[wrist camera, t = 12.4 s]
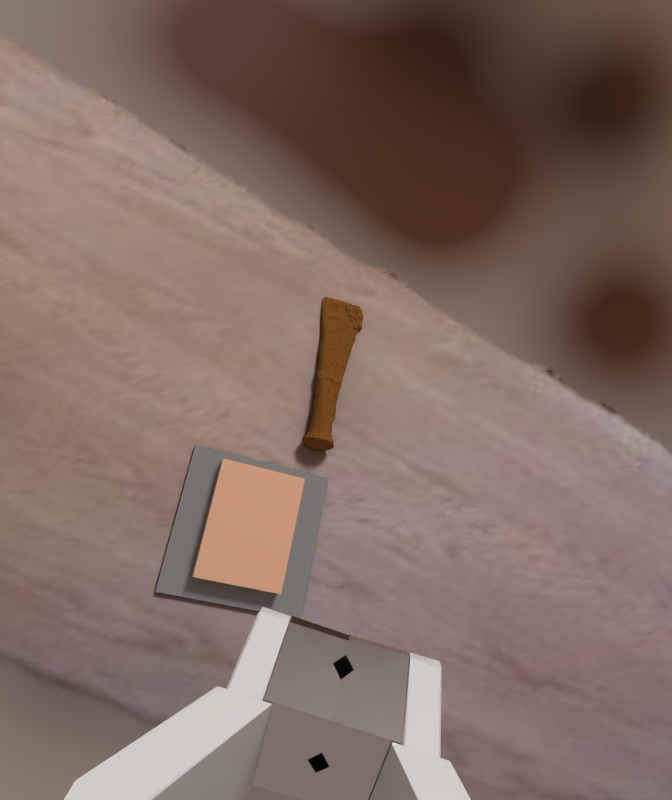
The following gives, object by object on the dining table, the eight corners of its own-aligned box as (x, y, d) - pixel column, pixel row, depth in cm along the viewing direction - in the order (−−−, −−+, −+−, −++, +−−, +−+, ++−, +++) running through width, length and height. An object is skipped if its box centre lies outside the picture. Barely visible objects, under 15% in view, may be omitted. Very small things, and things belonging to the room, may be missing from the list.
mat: (155, 591, 57) (155, 591, 57) (195, 445, 62) (195, 444, 62) (299, 618, 61) (301, 619, 61) (327, 478, 66) (328, 478, 65)
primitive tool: (321, 297, 72) (330, 285, 69) (363, 309, 73) (373, 297, 70) (296, 448, 66) (305, 443, 63) (341, 458, 67) (352, 453, 64)
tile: (192, 576, 57) (223, 458, 61) (191, 576, 58) (221, 460, 62) (281, 594, 59) (305, 478, 63) (277, 593, 60) (301, 480, 64)
